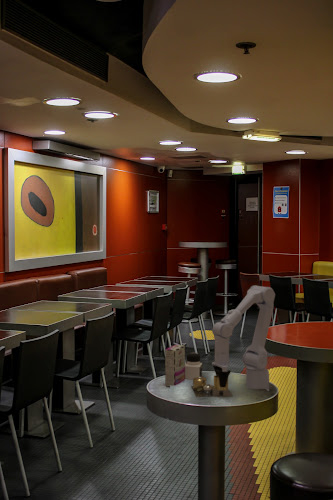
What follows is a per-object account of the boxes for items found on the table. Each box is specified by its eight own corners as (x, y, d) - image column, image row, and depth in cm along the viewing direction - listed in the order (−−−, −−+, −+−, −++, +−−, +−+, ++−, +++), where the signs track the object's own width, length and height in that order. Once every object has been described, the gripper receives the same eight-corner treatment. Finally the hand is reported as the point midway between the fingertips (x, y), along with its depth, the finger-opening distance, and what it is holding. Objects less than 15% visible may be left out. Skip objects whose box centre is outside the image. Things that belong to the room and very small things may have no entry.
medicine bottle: (199, 382, 261) (200, 355, 261) (184, 381, 263) (184, 354, 262) (202, 378, 268) (202, 352, 268) (186, 377, 270) (186, 351, 269)
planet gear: (226, 386, 244) (226, 374, 244) (229, 390, 238) (229, 378, 238) (212, 386, 243) (212, 374, 243) (215, 390, 238) (215, 378, 237)
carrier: (225, 387, 253) (225, 373, 252) (233, 398, 237) (233, 383, 236) (190, 388, 251) (190, 374, 251) (196, 399, 235) (196, 384, 235)
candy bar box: (175, 380, 264) (175, 344, 263) (185, 382, 262) (185, 345, 261) (164, 386, 254) (164, 348, 253) (174, 388, 251) (175, 350, 251)
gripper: (209, 348, 247) (208, 380, 247) (215, 356, 232) (214, 390, 233) (225, 348, 248) (225, 380, 248) (232, 355, 233) (232, 389, 234)
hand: (221, 385), depth 241 cm, fingers closed on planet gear, 6 cm apart
